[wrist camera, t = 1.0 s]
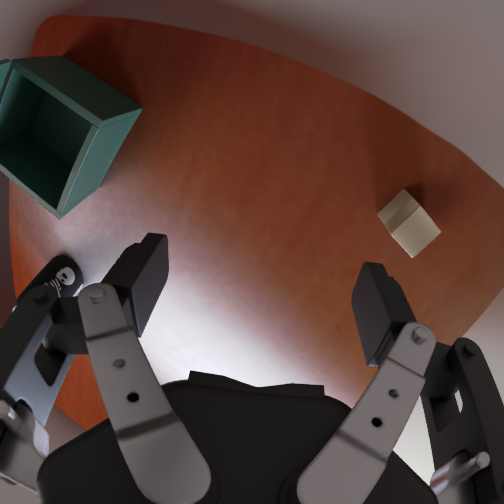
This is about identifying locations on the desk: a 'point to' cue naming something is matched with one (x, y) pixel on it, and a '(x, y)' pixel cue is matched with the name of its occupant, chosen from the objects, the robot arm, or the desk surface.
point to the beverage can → (57, 278)
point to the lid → (4, 70)
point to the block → (408, 223)
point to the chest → (60, 130)
